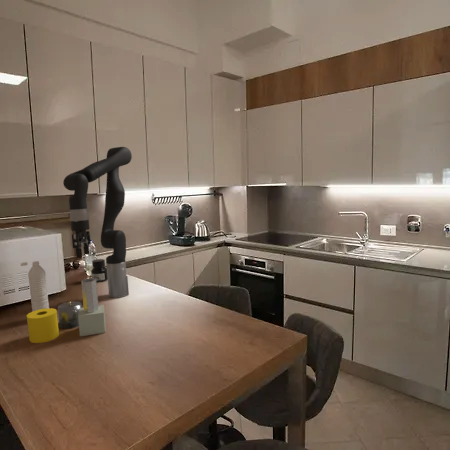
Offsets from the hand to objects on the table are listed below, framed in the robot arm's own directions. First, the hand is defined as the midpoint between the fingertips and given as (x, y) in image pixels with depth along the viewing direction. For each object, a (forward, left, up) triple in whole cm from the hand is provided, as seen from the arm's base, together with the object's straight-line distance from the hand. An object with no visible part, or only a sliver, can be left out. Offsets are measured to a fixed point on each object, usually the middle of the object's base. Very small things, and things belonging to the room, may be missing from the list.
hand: (83, 255), depth 159 cm
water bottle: (+20, 0, -25) cm, 32 cm away
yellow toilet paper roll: (+18, +22, -25) cm, 38 cm away
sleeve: (+1, +25, -17) cm, 30 cm away
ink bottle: (-12, -47, -25) cm, 55 cm away
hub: (+8, +14, -25) cm, 30 cm away
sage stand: (+1, +25, -25) cm, 35 cm away
